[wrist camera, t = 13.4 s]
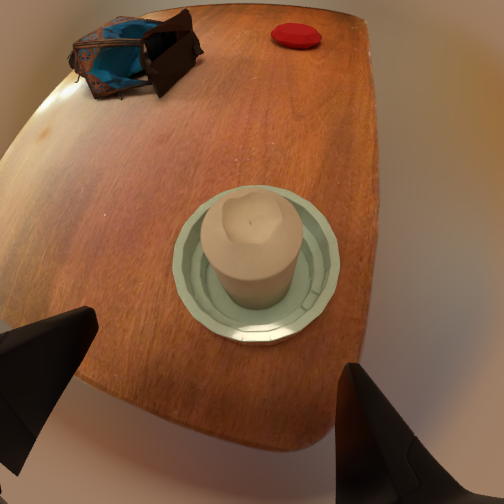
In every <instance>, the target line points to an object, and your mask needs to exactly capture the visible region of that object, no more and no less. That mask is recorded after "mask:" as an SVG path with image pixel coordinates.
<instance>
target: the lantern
mask: <svg viewBox="0 0 504 504" xmlns="http://www.w3.org/2000/svg"><path fill="white" fill-rule="evenodd" d="M203 53H204V52H203V50H202V49H201V48H200V43H199V40H198V38H197V36H196V35H195V33H194V31H193V27H192V18H191V15H190V13H189V10H187V9H186V8H183V9H182V11H181V12H180V13H179V14H177V15H176V16H174V17H172V18H171V19H169V20H167V21H165V22H162V21H156V20H151V19H146V20H145V19H144V18H136V17H124V16H119V17H116V18H115V19H113V20H111V21H110V22H108V23H106V24H104V25H102V26H100V27H99V28H97V29H96V30H94V31H92V32H91V33H89V34H87V35H86V36H84V37H82V38H81V39H79V40H77V41H76V42H75V43H74V44H73V50H72V51H71V54H70V55H71V57H70V59H69V65H70V67H71V68H72V69H75V73H76V74H79V77H80V76H82V77H83V78H85V79H86V81H87V83H88V86H89V88H90V90H91V92H92V94H93V97H94V99H99V98H102V97H105V96H109V95H112V94H114V93H118V95H119V96H120V100H122V92H124V91H126V90H129V89H133V88H137V87H142V86H145V85H153V86H154V88H155V89H156V92H157V94H158V97H159V98H161V97H162V96H163V95H164V94H165V92H166V91H167V90H168V89H169V88H170V87H171V86H172V85H173V84H174V83H175V82H176V81H177V80H178V79H180V78H181V77H182V76H183V75H184V74H185V73H186V72H187V71H188V70H190V69H191V68H192V67H193V66H194V65H195V64H196V57H198V56H199V55H201V54H203ZM70 55H69V56H70ZM68 58H69V57H68ZM144 69H145V72H146V75H147V76H148V81H142V80H138V79H136V80H133V79H129V78H128V77H129V76H131V75H133V74H136V73H137V72H140V71H142V70H144ZM79 77H78V80H77V82H75V83H78V81H79Z"/></svg>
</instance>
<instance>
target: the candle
mask: <svg viewBox="0 0 504 504" xmlns="http://www.w3.org/2000/svg"><path fill="white" fill-rule="evenodd" d="M200 237H201V244H202V248H203V251H204V253H205V255H206V257H207V259H208V261H209V262H210V264H211V266H212V268H213V270H214V271H215V273H216V275H217V277H218V279H219V280H220V282H221V284H222V286H223V287H224V289H225V291H226V292H227V294H228V296H229V297H230V298H231V299H232V300H233V301H234V302H235V303H236V304H238V305H239V306H241V307H244V308H246V309H250V310H264V309H267V308H270V307H272V306H274V305H276V304H277V303H279V302H280V301H281V300H282V299H283V298H284V297H285V295H286V294H287V292H288V290H289V288H290V285H291V282H292V278H293V275H294V271H295V267H296V263H297V260H298V256H299V252H300V248H301V244H302V239H303V226H302V222H301V218H300V216H299V214H298V212H297V211H296V209H295V208H294V206H293V205H292V204H291V203H290V202H289V201H288V200H287V199H285V198H284V197H283V196H281V195H279V194H277V193H275V192H273V191H270V190H266V189H261V188H245V189H240V190H236V191H233V192H231V193H229V194H227V195H225V196H223V197H222V198H220V199H219V200H218V201H217V202H215V203H214V204H213V205H212V207H211V208H210V209H209V210H208V212H207V213H206V215H205V217H204V220H203V223H202V226H201V234H200Z"/></svg>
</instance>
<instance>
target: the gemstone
mask: <svg viewBox="0 0 504 504" xmlns="http://www.w3.org/2000/svg"><path fill="white" fill-rule="evenodd" d="M271 37H272V38H273V39H274V40H275V41H276V42H277V43H278V44H281V45H283V46H286V47H289V48H301V49H306V48H309V47H312V46H315V45H316V44H318V43H319V42H320V41H321V39H322V36H321V35H320V34H319V33H318V32H317V31H316V30H315V28H313V27H311V26H307V25H304V24H298V23H286V24H283V25H279V26H277V27H276V28H275V29H274V30H273V31H272V32H271Z"/></svg>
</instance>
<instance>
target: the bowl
mask: <svg viewBox="0 0 504 504" xmlns="http://www.w3.org/2000/svg"><path fill="white" fill-rule="evenodd" d="M245 188H261V189H266V190H270V191H273V192H275V193H277V194H279V195H281V196H283V197H284V198H285V199H287V200H288V201H289V202H290V203H291V204H292V205H293V206H294V208H295V209H296V211H297V212H298V214H299V216H300V218H301V222H302V226H303V239H302V244H301V248H300V252H299V256H298V260H297V263H296V267H295V271H294V275H293V278H292V282H291V285H290V288H289V290H288V292H287V294H286V295H285V297H284V298H283V299H282V300H281V301H280V302H279V303H277V304H276V305H274V306H272V307H270V308H267V309H264V310H250V309H246V308H244V307H241V306H239V305H238V304H236V303H235V302H234V301H233V300H232V299H231V298H230V297H229V296H228V294H227V292H226V291H225V289H224V287H223V286H222V284H221V282H220V280H219V279H218V277H217V275H216V273H215V271H214V270H213V268H212V266H211V264H210V262H209V261H208V259H207V257H206V255H205V253H204V251H203V248H202V244H201V237H200V234H201V226H202V223H203V220H204V217H205V215H206V213H207V212H208V210H209V209H210V208H211V207H212V205H213V204H214V203H215V202H217V201H218V200H219V199H220V198H222V197H223V196H225V195H227V194H229V193H231V192H233V191H236V190H240V189H245ZM172 270H173V275H174V279H175V284H176V288H177V292H178V295H179V297H180V298H181V300H182V301H183V303H184V304H185V306H186V307H187V309H188V311H189V312H190V314H191V315H192V316H193V317H194V318H195V319H196V320H198V321H199V322H200V323H202V324H203V325H204V326H206V327H207V328H208V329H209V330H211V331H212V332H213V333H215V334H217V335H219V336H221V337H222V338H224V339H226V340H229V341H232V342H235V343H239V344H242V345H245V346H270V345H274V344H277V343H280V342H283V341H285V340H288V339H291V338H292V337H294V336H296V335H297V334H298V333H300V332H301V331H302V330H303V329H305V328H306V327H307V326H308V325H310V324H311V323H312V322H313V321H314V320H315V319H316V318H317V317H318V316H319V315H320V314H321V313H322V312H323V310H324V308H325V307H326V305H327V304H328V302H329V300H330V299H331V297H332V295H333V294H334V292H335V290H336V285H337V280H338V276H339V271H340V257H339V249H338V242H337V239H336V237H335V235H334V233H333V231H332V229H331V227H330V225H329V223H328V221H327V219H326V218H325V217H324V216H323V215H322V214H321V213H320V212H319V211H318V210H317V209H316V208H315V206H314V205H313V204H312V203H310V202H309V201H307V200H305V199H304V198H302V197H300V196H298V195H297V194H295V193H293V192H291V191H289V190H285V189H281V188H277V187H273V186H268V185H254V186H241V187H238V188H234V189H231V190H228V191H225V192H222V193H219V194H218V195H216V196H215V197H213V198H211V199H210V200H208V201H207V202H205V203H204V204H202V205H201V206H200V207H199V208H198V209H197V210H196V211H195V212H194V213H193V214H192V216H191V217H190V218H189V219H188V220H187V221H186V223H185V224H184V226H183V228H182V230H181V232H180V235H179V237H178V239H177V241H176V244H175V247H174V256H173V267H172Z"/></svg>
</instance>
